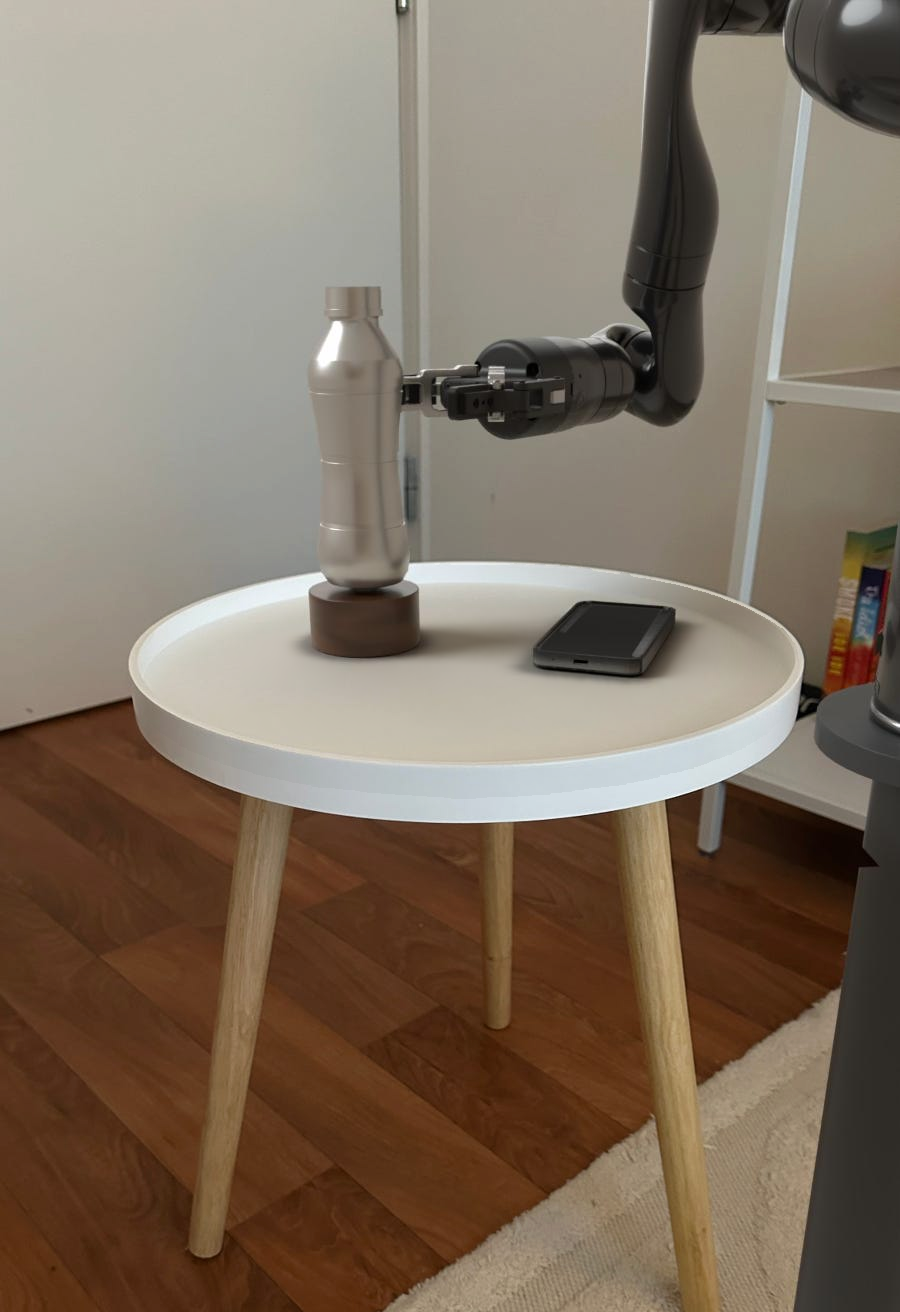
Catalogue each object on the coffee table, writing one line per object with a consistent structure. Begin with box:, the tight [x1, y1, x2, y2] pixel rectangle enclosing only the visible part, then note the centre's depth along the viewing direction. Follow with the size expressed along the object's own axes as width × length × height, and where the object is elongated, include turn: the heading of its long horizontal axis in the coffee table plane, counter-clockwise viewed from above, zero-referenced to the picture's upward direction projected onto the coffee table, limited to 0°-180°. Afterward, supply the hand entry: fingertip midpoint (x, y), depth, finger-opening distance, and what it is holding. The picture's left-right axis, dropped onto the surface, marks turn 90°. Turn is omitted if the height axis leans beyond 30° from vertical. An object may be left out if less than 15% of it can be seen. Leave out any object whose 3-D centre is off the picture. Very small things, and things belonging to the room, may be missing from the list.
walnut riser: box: [308, 579, 421, 658], centre depth 85 cm, size 8×8×4 cm
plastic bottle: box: [306, 285, 411, 590], centre depth 80 cm, size 6×7×20 cm
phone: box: [531, 600, 677, 676], centre depth 84 cm, size 8×1×15 cm
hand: (405, 401), depth 82 cm, fingers open, 8 cm apart
